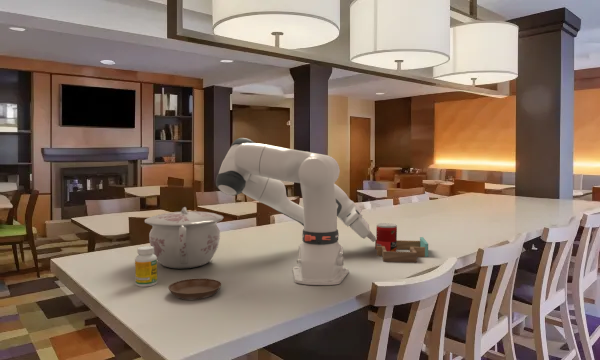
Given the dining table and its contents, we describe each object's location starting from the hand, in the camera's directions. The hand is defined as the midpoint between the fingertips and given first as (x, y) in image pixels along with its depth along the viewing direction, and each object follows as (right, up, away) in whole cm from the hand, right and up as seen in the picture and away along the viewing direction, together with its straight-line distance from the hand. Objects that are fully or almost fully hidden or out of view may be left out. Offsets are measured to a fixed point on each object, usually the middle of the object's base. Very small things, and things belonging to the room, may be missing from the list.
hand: (374, 240), depth 178 cm
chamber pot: (-71, -6, -19) cm, 74 cm away
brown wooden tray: (+9, -5, -2) cm, 10 cm away
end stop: (+19, -5, -3) cm, 20 cm away
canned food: (+4, -5, -1) cm, 7 cm away
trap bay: (+7, -5, -13) cm, 16 cm away
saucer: (-60, -9, -51) cm, 79 cm away
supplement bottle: (-77, -8, -42) cm, 88 cm away
